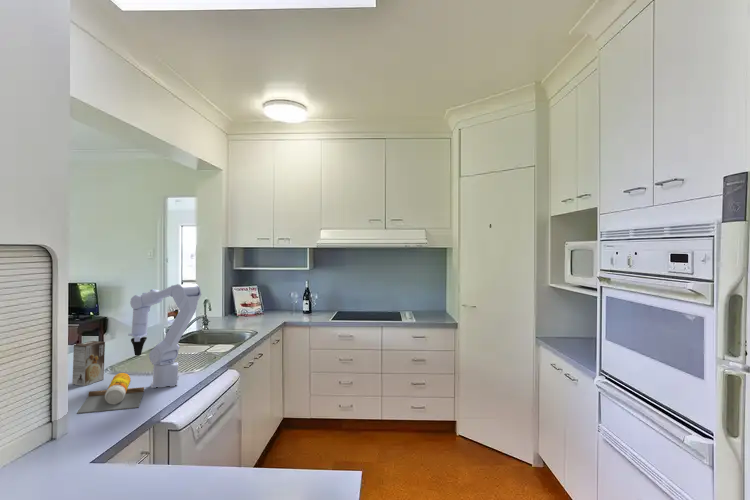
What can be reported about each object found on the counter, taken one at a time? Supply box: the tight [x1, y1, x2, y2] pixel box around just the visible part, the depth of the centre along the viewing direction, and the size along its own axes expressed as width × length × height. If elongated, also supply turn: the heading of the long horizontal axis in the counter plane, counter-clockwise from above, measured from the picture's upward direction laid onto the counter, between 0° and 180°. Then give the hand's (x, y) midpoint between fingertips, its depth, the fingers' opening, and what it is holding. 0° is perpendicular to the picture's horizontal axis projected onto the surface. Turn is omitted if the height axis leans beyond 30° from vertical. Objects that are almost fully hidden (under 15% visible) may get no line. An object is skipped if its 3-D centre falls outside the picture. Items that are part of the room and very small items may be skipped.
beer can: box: [105, 372, 132, 404], centre depth 153 cm, size 6×6×15 cm
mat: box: [76, 391, 145, 415], centre depth 149 cm, size 18×17×1 cm
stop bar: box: [87, 386, 145, 397], centre depth 157 cm, size 18×1×2 cm, turn 114°
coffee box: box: [71, 340, 106, 387], centre depth 170 cm, size 9×6×16 cm
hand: (137, 355), depth 176 cm, fingers closed
